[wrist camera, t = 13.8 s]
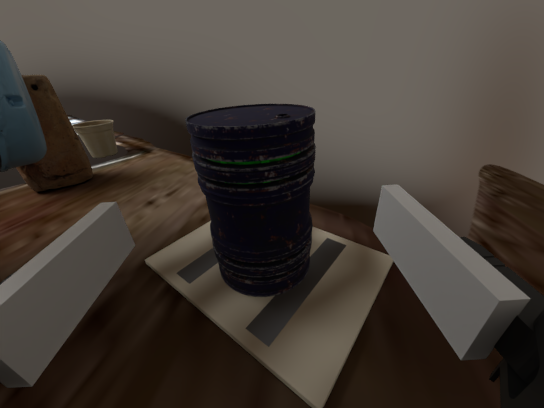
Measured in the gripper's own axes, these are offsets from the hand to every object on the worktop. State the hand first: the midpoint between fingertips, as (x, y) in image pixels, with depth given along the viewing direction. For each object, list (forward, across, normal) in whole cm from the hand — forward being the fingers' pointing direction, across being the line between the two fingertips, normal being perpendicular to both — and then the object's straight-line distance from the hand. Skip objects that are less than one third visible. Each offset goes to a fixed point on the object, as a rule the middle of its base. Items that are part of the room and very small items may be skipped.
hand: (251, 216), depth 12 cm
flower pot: (+55, -45, -12) cm, 72 cm away
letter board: (+9, 0, -12) cm, 15 cm away
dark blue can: (+9, 0, -11) cm, 14 cm away
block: (+36, -42, -12) cm, 56 cm away
